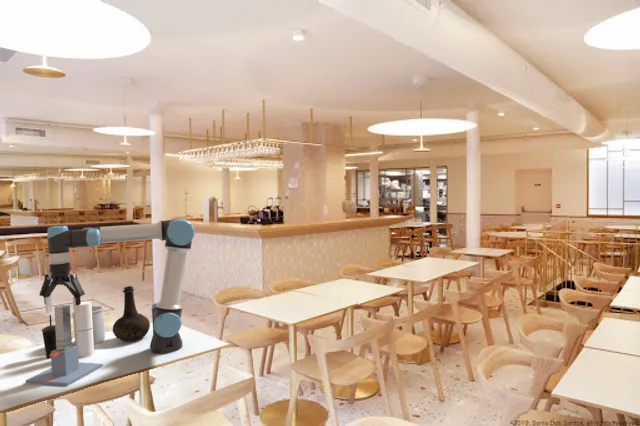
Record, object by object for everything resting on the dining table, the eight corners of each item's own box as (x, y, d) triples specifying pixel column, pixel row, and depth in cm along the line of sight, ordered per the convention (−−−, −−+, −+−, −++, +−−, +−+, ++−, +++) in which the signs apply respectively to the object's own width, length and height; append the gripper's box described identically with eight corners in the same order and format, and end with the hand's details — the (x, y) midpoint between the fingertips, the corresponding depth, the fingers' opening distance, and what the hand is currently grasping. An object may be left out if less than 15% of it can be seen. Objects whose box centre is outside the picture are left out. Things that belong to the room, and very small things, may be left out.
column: (73, 355, 185) (70, 305, 184) (65, 359, 180) (62, 307, 180) (64, 355, 186) (61, 305, 185) (56, 359, 181) (53, 307, 181)
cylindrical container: (86, 357, 202) (83, 305, 201) (73, 357, 204) (70, 304, 203) (97, 352, 209) (94, 301, 208) (84, 351, 211) (82, 301, 210)
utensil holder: (72, 348, 216) (70, 314, 215) (75, 340, 230) (73, 307, 229) (104, 343, 222) (102, 310, 221) (106, 335, 236) (104, 304, 235)
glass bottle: (157, 334, 235) (154, 283, 234) (135, 345, 218) (133, 290, 217) (128, 332, 239) (126, 283, 238) (105, 343, 222) (102, 290, 221)
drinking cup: (65, 354, 208) (63, 313, 207) (49, 360, 201) (47, 317, 200) (55, 352, 211) (52, 312, 210) (39, 358, 204) (37, 316, 203)
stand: (102, 366, 191) (101, 341, 191) (67, 386, 171) (66, 358, 171) (64, 364, 195) (62, 340, 195) (25, 383, 176) (24, 356, 175)
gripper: (91, 260, 183) (95, 310, 183) (42, 261, 188) (45, 309, 189) (78, 263, 175) (81, 315, 176) (27, 264, 180) (30, 314, 181)
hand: (63, 312), depth 182 cm, fingers open, 13 cm apart
